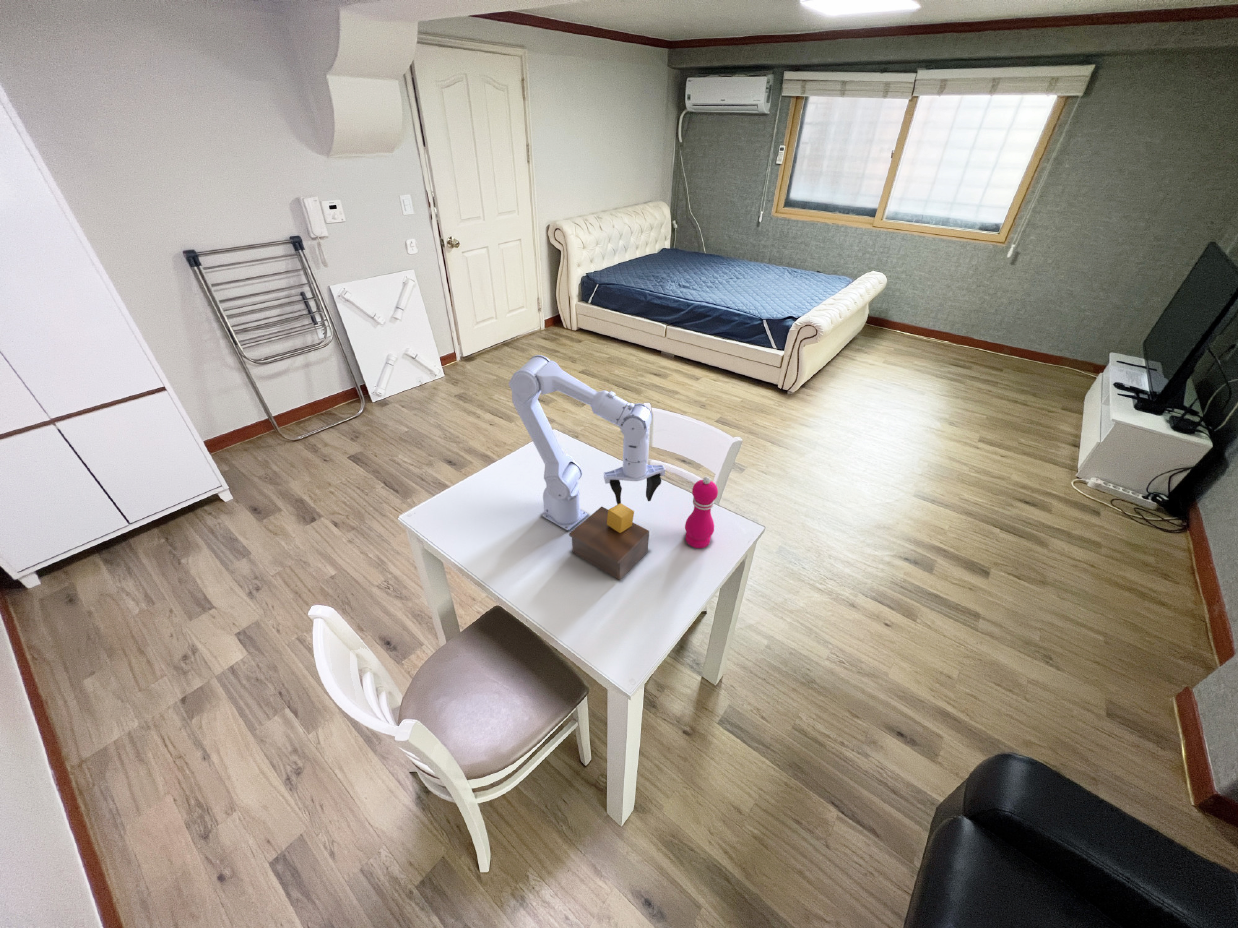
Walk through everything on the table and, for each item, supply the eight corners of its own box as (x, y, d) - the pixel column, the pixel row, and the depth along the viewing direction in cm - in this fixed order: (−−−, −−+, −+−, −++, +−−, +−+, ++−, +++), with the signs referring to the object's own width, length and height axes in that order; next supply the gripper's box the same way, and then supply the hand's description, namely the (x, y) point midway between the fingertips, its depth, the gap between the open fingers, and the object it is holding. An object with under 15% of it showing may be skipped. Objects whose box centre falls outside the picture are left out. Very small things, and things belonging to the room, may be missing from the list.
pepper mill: (704, 554, 120) (715, 491, 109) (678, 542, 124) (686, 480, 112) (716, 536, 125) (727, 474, 114) (690, 526, 128) (699, 464, 117)
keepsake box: (619, 580, 113) (620, 561, 110) (572, 552, 120) (571, 533, 117) (647, 551, 121) (649, 533, 117) (601, 526, 128) (601, 508, 124)
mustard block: (606, 524, 117) (608, 509, 115) (618, 517, 120) (620, 502, 118) (619, 533, 115) (622, 518, 113) (632, 525, 118) (634, 511, 116)
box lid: (618, 564, 109) (618, 561, 109) (569, 535, 116) (569, 533, 116) (649, 533, 117) (649, 530, 117) (601, 508, 124) (601, 506, 124)
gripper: (660, 442, 117) (656, 486, 125) (601, 449, 114) (601, 494, 122) (669, 459, 112) (665, 504, 120) (607, 467, 109) (607, 512, 117)
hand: (633, 500), depth 121 cm, fingers open, 7 cm apart
